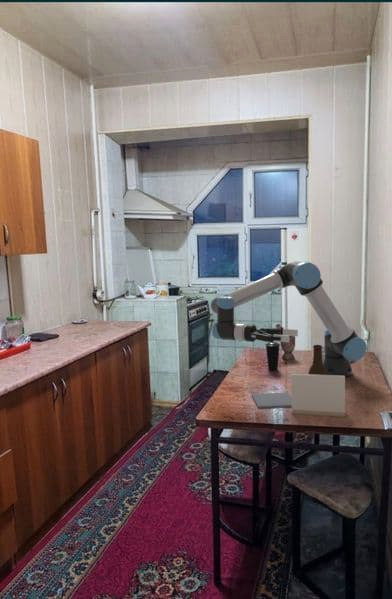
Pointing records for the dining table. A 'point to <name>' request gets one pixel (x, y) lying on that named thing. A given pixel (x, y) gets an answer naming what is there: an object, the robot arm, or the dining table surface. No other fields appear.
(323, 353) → the dish
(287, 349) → the mortar and pestle
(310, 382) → the screen
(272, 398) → the mat
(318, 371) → the beer bottle
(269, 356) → the drinking cup
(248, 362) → the dining table surface
